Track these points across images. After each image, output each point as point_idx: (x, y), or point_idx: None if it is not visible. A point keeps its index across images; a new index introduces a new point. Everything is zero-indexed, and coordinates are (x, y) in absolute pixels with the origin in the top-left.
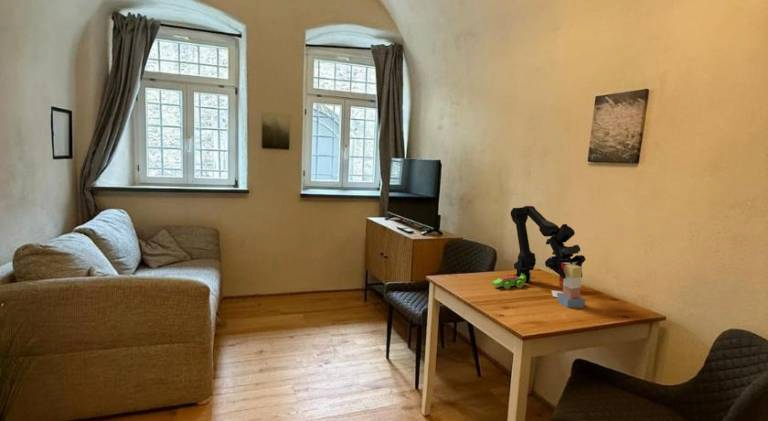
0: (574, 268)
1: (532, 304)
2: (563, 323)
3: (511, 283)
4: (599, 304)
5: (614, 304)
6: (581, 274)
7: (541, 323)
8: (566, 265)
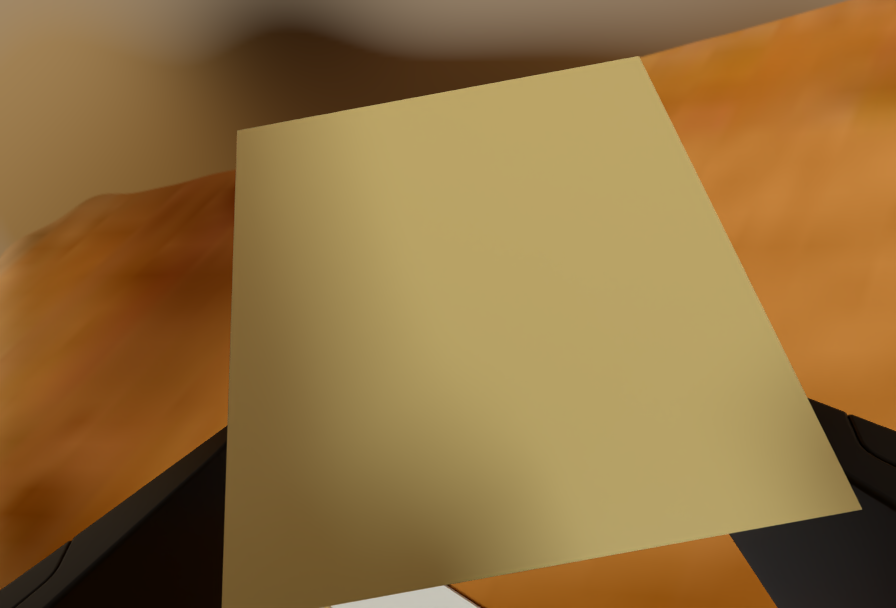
0: (563, 79)
1: (866, 419)
2: (722, 83)
3: None
4: None
5: (130, 397)
6: (223, 439)
7: (887, 71)
8: (763, 425)
